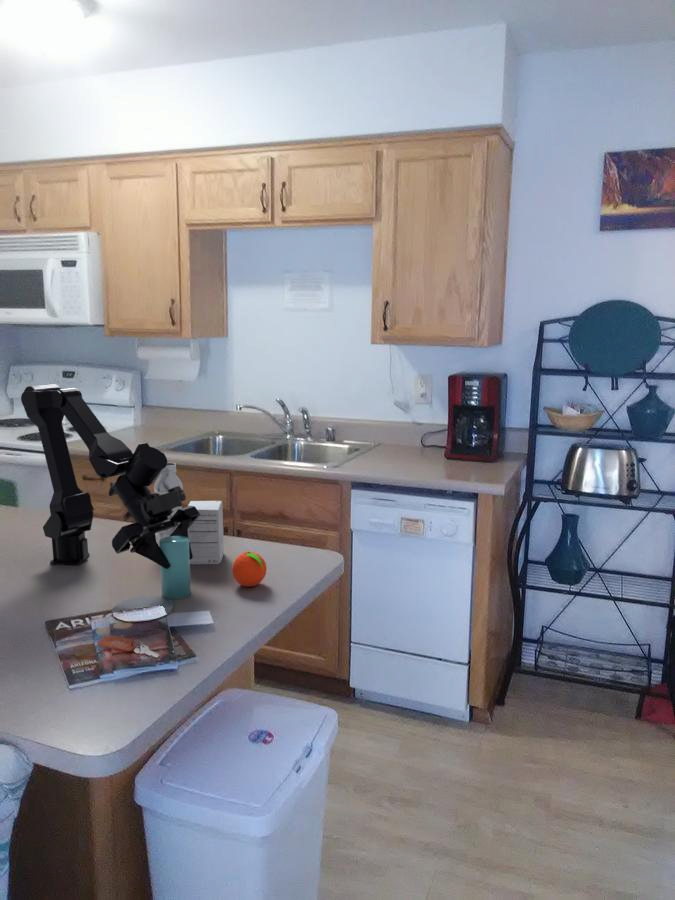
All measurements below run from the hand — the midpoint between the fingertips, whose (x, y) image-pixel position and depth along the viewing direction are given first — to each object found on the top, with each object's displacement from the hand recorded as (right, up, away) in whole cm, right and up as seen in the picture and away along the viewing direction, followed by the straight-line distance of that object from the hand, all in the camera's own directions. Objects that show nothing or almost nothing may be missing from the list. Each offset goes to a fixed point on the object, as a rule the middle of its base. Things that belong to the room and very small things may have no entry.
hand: (180, 563), depth 138 cm
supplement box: (+1, -3, +22) cm, 22 cm away
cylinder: (-1, -6, +2) cm, 7 cm away
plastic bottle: (-8, -1, +29) cm, 30 cm away
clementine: (+13, -6, +6) cm, 16 cm away
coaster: (-6, -8, -6) cm, 11 cm away
